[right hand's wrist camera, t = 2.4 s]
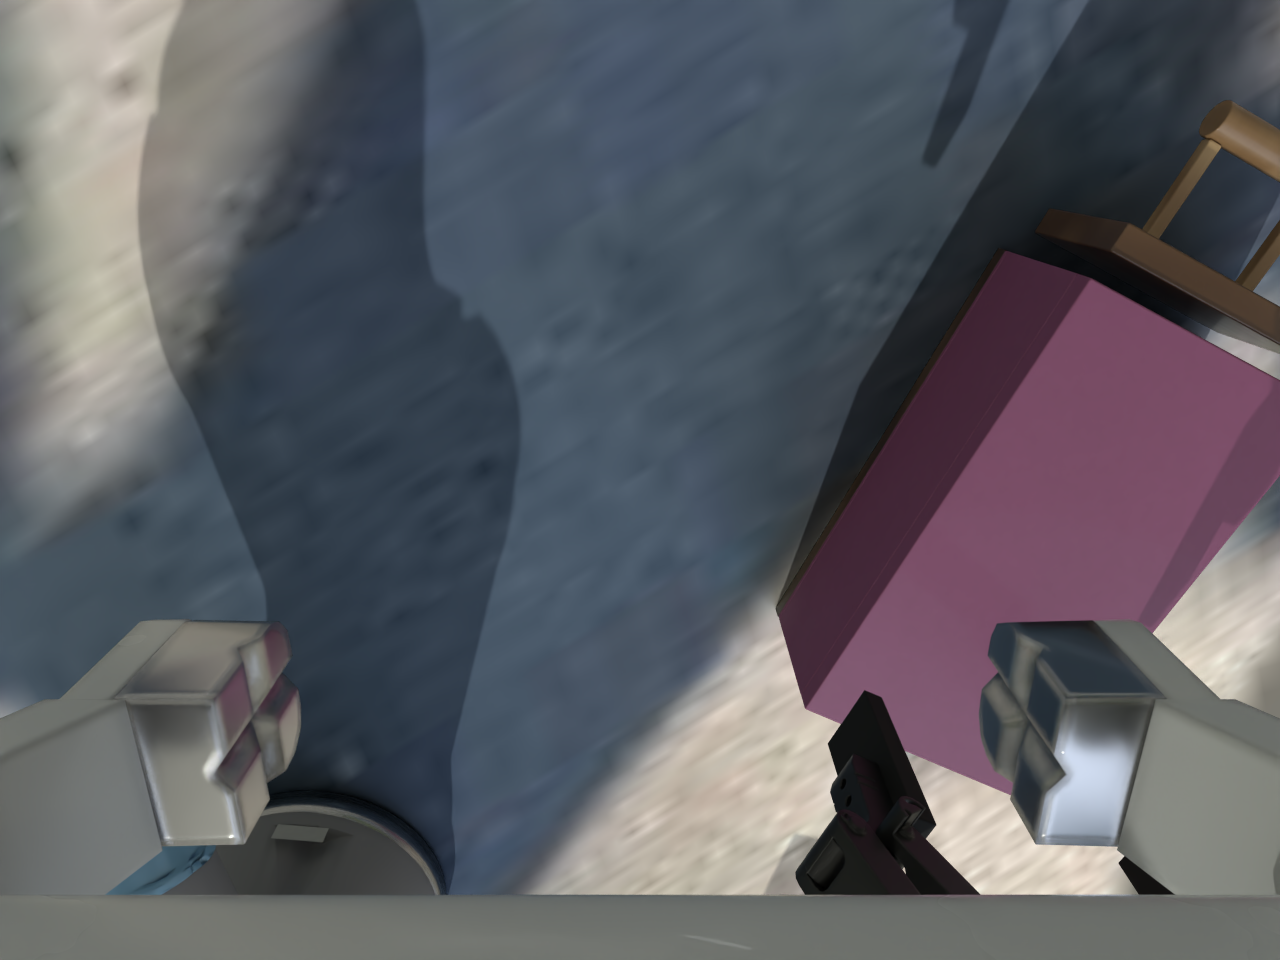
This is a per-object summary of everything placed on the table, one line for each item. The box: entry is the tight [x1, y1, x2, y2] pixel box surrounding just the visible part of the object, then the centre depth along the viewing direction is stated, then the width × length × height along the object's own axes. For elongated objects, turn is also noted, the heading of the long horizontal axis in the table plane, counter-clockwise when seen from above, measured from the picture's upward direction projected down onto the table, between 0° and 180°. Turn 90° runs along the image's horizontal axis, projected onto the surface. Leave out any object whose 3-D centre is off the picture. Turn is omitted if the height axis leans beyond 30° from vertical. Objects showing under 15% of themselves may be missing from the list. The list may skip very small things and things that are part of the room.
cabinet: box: [776, 248, 1280, 795], centre depth 42 cm, size 21×12×9 cm, turn 154°
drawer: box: [1035, 100, 1280, 354], centre depth 40 cm, size 26×10×7 cm, turn 154°
